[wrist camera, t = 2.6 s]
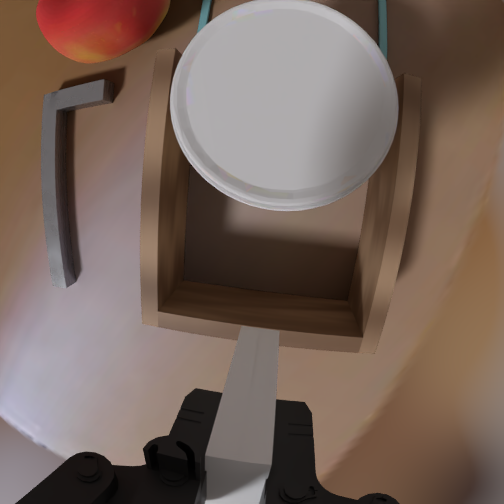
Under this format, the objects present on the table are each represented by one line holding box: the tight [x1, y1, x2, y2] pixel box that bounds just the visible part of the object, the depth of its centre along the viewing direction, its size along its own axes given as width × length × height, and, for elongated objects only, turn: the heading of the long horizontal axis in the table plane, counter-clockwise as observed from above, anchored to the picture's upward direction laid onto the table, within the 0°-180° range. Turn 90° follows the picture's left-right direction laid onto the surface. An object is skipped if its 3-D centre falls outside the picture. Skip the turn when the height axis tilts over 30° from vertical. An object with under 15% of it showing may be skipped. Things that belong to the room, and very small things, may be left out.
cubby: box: [140, 48, 422, 354], centre depth 20 cm, size 18×16×6 cm
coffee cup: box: [170, 0, 398, 211], centre depth 16 cm, size 9×9×12 cm
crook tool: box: [41, 79, 114, 288], centre depth 24 cm, size 18×7×2 cm, turn 179°
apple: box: [36, 0, 170, 63], centre depth 16 cm, size 10×10×10 cm
